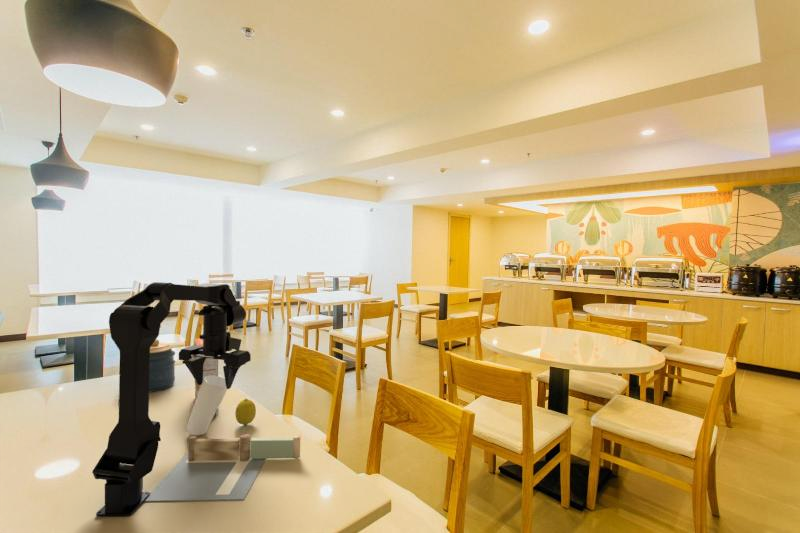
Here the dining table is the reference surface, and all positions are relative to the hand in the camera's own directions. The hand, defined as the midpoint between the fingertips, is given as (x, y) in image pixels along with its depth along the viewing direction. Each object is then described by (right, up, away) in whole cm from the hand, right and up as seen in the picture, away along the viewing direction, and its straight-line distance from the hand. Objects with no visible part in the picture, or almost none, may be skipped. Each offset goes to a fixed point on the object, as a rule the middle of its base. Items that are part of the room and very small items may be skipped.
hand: (214, 386), depth 100 cm
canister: (-41, -12, +37) cm, 56 cm away
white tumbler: (-6, -13, +2) cm, 15 cm away
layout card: (+8, -15, -15) cm, 23 cm away
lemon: (+5, -14, +8) cm, 17 cm away
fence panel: (+20, -14, -9) cm, 26 cm away
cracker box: (-14, -13, +23) cm, 30 cm away
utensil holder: (-9, -14, +13) cm, 21 cm away
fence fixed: (+6, -15, -10) cm, 19 cm away
